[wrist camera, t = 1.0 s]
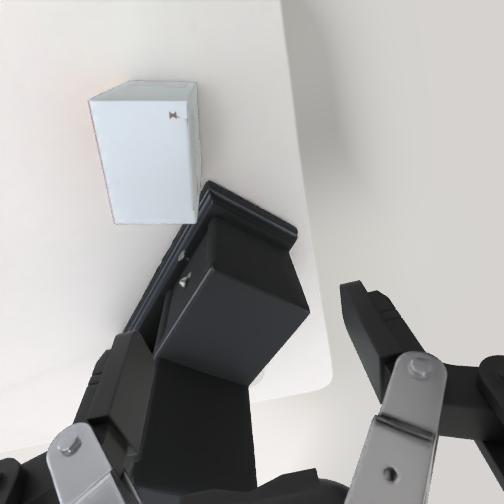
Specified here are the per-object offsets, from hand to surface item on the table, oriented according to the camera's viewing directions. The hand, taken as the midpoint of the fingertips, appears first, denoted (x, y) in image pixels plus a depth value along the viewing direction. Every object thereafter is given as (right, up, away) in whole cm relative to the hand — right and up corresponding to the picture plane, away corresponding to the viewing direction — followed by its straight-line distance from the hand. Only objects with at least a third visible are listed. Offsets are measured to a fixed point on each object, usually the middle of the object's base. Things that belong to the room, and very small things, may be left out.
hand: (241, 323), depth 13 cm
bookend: (-5, -1, +25) cm, 26 cm away
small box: (-7, +13, +17) cm, 22 cm away
